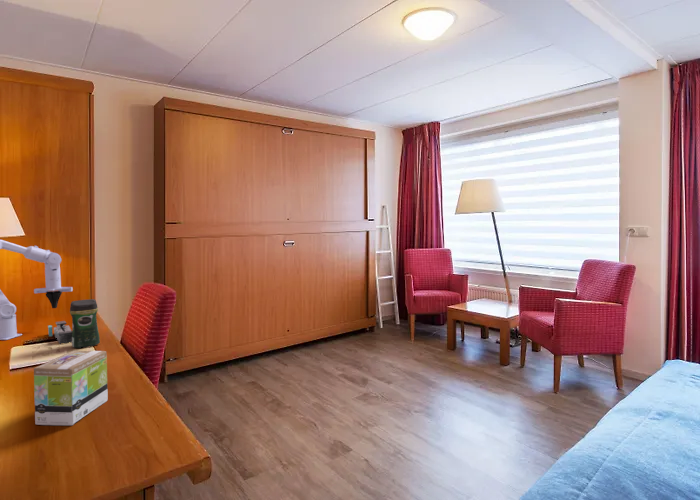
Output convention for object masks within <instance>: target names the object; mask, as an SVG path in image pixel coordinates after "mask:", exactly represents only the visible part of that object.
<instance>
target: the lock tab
mask: <svg viewBox="0 0 700 500" xmlns="http://www.w3.org/2000/svg"><path fill="white" fill-rule="evenodd" d="M47 328H48V329H47V330H48V337H53V335H54V334H53V325H51V324H50V325H47Z"/></svg>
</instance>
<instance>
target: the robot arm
mask: <svg viewBox="0 0 700 500" xmlns="http://www.w3.org/2000/svg"><path fill="white" fill-rule="evenodd" d="M0 250H6V251H10V252H14V253H18V254H22V255H23V256H24V258H25V259H27V260H31V261H35V262H38V263H44V276H45V277H44V278H45V287H39V288H34V289H33V293H34V294H43V293H45V297H46V298H47V299H48V301H49V303H50V305H51V309H57V308H58V304H59V300H60V298H61V295H62V294H63V292H65V293H68V292H73V290H74V289H73V286H62V276H61V267H60V264H61V263H62V258H61V257H62V256H61V255H60V254H59V253H57V252H53V251H51V250H50V249H44V248H43V249H42V248H41V247H40V248H39V246H37V245H34V246H33V245H30V246H27V247H25V246H22V245H19V244H16V243H13V242H9V241H6V240H3V239H0ZM16 312H17V306H16V305H15V304H14V303H12V302H10V301H9V299H8V298H7V296H6V295H5V294H4V292H3V291H2V290H1V288H0V340H1V341H7V340H11V339H14V338H17V337H21V336H22V335H23V334H22V333H18V329H17V314H16Z"/></svg>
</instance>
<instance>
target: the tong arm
mask: <svg viewBox="0 0 700 500" xmlns="http://www.w3.org/2000/svg"><path fill="white" fill-rule="evenodd" d="M55 324H56V326H55V327H53V335H54V337H55V339H56V338H57V339H56V340H57V342H58V343H59V345H62V344H61V343H64V344H67V342H66V333H65V332H64V331H63V330H62V329H61V327H60V325H64V324H65V325H67V322H66V321H65V320H61V321H55Z"/></svg>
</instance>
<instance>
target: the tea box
mask: <svg viewBox="0 0 700 500" xmlns="http://www.w3.org/2000/svg"><path fill="white" fill-rule="evenodd" d="M33 386H34V387H33V393H34V397H33V398H34V421H35V422H34V423H35V424H34V425H40V426H74V425H75V424H76V423H77V422H79V421H80V420H81V419H83V418H84V417H86V416H87V415H88V414H90V413H91V412H93V411H94V410H96V409H98V408H99V407H100V406H102V405H103V404H106V402H107V401H108V400H109V399H108V397H109V395H108V391H109V390H108V355H107V351H105V350H72V351H69V352H66V353H65V354H63V355H61V356H59V357H56V358H54V359H52V360H49V361H48V362H45V363H43V364H41V365H38V366H36V367H34V368H33Z"/></svg>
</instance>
